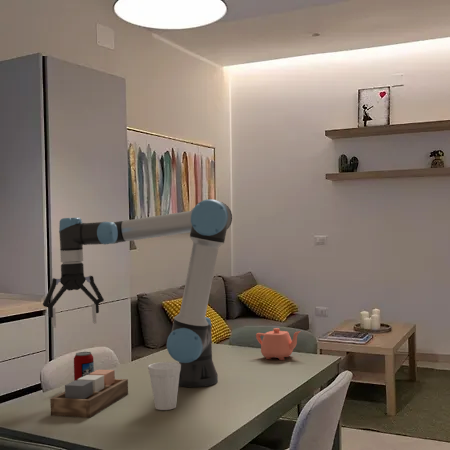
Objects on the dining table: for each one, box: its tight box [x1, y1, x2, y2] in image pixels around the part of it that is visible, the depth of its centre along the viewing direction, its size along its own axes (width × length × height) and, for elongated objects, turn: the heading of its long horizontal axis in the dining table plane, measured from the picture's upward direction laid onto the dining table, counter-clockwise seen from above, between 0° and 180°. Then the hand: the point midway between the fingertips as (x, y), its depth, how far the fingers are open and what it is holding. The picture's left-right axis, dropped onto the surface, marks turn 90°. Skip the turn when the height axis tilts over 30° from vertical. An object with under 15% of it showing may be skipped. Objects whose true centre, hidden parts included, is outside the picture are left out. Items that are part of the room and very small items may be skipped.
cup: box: [147, 361, 181, 411], centre depth 187 cm, size 10×10×13 cm
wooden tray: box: [49, 378, 129, 419], centre depth 193 cm, size 13×26×5 cm, turn 164°
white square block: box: [78, 375, 104, 392], centre depth 193 cm, size 6×6×4 cm
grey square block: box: [64, 380, 93, 399], centre depth 186 cm, size 6×6×4 cm
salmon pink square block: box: [89, 369, 116, 386], centre depth 201 cm, size 6×6×4 cm
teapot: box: [255, 327, 302, 361], centre depth 255 cm, size 13×20×12 cm, turn 65°
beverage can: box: [73, 351, 95, 381], centre depth 215 cm, size 7×7×12 cm
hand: (74, 325), depth 210 cm, fingers open, 13 cm apart
